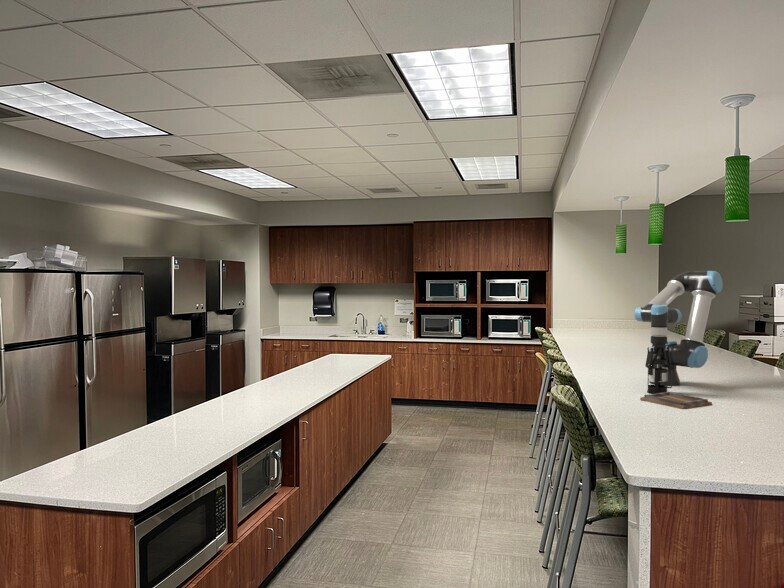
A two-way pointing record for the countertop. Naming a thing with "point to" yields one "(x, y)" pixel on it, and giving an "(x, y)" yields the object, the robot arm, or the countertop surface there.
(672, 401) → the serving board
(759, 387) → the countertop surface
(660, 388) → the french press
